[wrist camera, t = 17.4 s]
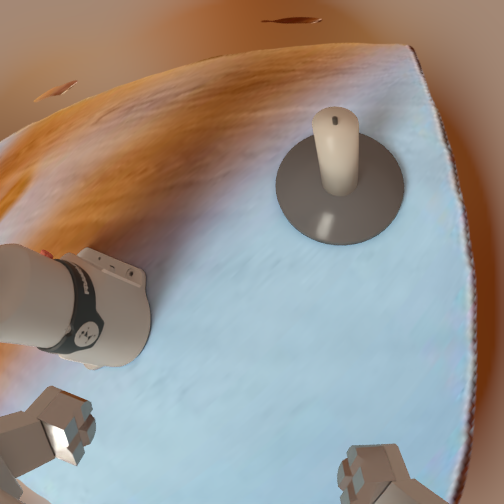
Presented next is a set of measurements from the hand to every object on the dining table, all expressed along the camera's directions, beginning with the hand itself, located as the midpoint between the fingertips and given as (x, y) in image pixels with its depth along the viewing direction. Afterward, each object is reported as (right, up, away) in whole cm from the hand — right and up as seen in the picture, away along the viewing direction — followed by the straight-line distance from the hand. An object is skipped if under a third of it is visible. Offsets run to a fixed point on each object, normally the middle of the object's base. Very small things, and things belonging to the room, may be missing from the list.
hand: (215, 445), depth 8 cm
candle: (+13, +15, +34) cm, 39 cm away
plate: (+13, +15, +35) cm, 40 cm away
